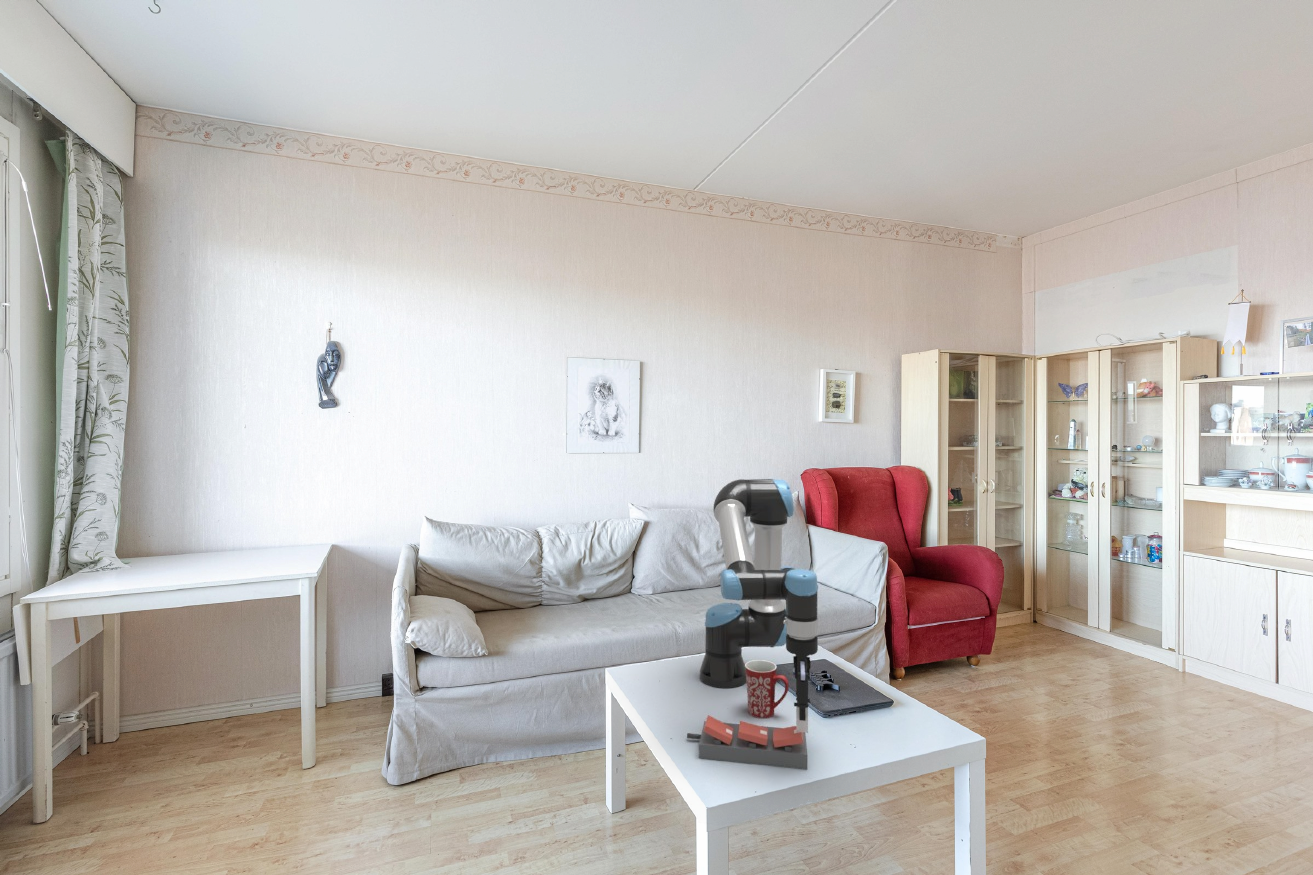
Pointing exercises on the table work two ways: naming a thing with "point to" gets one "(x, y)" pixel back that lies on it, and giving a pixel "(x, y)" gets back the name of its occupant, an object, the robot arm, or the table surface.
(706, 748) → the power strip
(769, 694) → the mug
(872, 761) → the table surface
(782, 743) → the block
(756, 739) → the red box
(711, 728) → the rocker
